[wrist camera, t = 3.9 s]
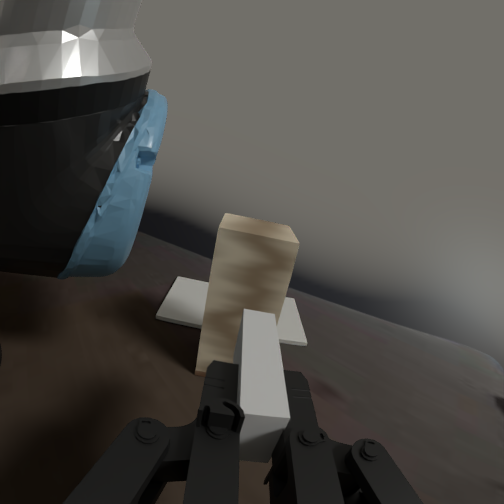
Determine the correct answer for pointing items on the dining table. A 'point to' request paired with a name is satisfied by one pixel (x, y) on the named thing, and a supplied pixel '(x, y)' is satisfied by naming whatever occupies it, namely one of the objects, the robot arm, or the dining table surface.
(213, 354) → the beech block
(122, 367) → the dining table surface
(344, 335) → the dining table surface
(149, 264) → the dining table surface
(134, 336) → the dining table surface
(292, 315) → the mat
